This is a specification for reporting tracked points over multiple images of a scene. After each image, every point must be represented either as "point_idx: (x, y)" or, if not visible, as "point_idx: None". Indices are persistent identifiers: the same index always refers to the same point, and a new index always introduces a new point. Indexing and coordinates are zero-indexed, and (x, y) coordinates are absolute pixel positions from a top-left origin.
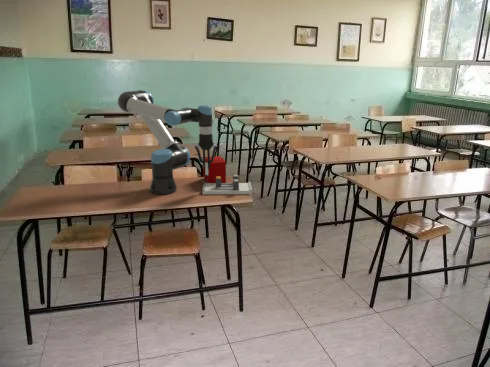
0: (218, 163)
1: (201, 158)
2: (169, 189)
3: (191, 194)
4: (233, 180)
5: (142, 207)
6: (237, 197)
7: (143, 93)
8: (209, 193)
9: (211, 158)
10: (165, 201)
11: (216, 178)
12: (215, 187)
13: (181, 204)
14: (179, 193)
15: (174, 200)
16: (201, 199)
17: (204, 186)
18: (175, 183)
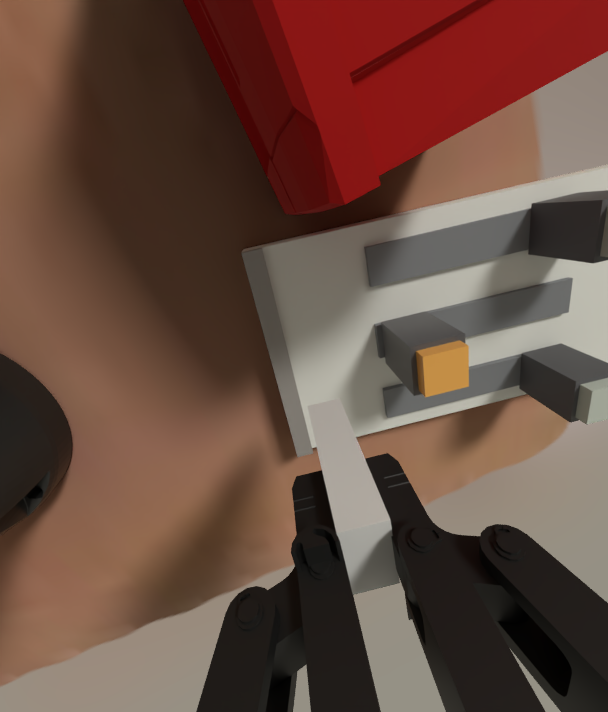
0: (544, 83)
1: (264, 697)
2: (40, 504)
3: (219, 453)
4: (563, 258)
5: (59, 659)
6: (518, 430)
7: None
8: None
9: (550, 697)
10: (122, 580)
11: (422, 392)
12: (377, 353)
13: (230, 587)
14: (125, 456)
15: (164, 557)
16: None
17: (288, 378)
18: (2, 418)
